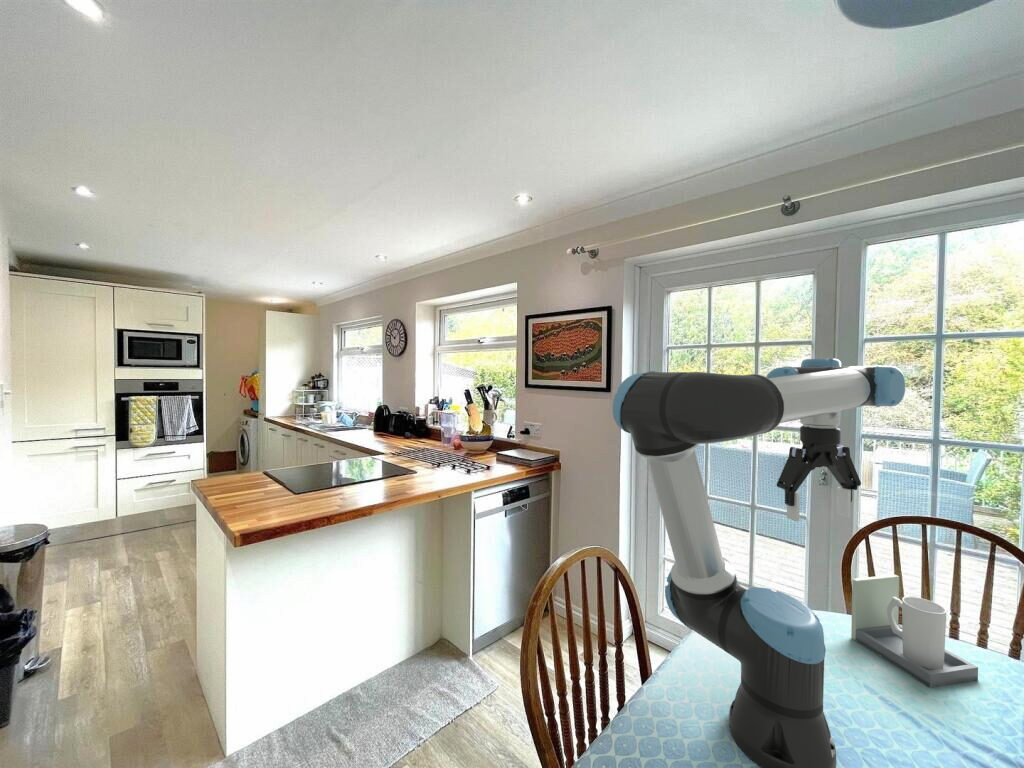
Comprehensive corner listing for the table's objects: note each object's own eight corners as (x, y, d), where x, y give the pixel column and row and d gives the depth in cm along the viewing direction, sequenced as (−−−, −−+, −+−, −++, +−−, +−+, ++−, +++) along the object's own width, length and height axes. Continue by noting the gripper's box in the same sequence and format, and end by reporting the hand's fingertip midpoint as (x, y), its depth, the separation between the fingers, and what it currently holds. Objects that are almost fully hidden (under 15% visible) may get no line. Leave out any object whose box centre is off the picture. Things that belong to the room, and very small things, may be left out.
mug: (953, 667, 88) (954, 610, 87) (931, 674, 86) (932, 616, 86) (897, 638, 97) (898, 587, 97) (876, 644, 95) (877, 591, 95)
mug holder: (929, 687, 83) (931, 617, 83) (851, 637, 99) (852, 578, 99) (977, 679, 85) (979, 611, 85) (893, 632, 101) (894, 574, 101)
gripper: (785, 429, 91) (784, 527, 91) (882, 426, 95) (880, 520, 96) (759, 425, 98) (758, 515, 99) (850, 423, 103) (848, 509, 103)
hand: (818, 518), depth 97 cm, fingers open, 13 cm apart
